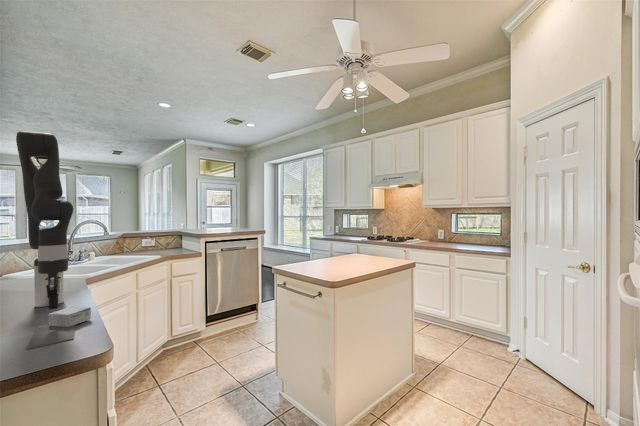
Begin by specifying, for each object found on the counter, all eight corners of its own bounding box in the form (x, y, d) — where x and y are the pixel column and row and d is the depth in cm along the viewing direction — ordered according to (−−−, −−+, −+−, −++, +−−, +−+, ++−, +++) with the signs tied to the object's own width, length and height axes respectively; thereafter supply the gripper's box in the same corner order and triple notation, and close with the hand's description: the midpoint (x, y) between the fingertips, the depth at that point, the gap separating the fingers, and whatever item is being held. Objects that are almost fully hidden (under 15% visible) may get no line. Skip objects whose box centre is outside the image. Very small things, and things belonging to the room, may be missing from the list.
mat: (36, 328, 96) (36, 327, 96) (75, 321, 102) (75, 320, 102) (26, 349, 80) (26, 348, 80) (73, 339, 87) (73, 338, 87)
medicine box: (47, 326, 97) (68, 327, 95) (47, 313, 97) (68, 314, 95) (72, 317, 104) (91, 319, 103) (72, 305, 104) (91, 307, 103)
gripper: (40, 257, 99) (40, 306, 99) (35, 261, 89) (35, 316, 89) (68, 255, 104) (69, 301, 104) (66, 259, 94) (67, 311, 94)
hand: (53, 308), depth 96 cm, fingers closed
